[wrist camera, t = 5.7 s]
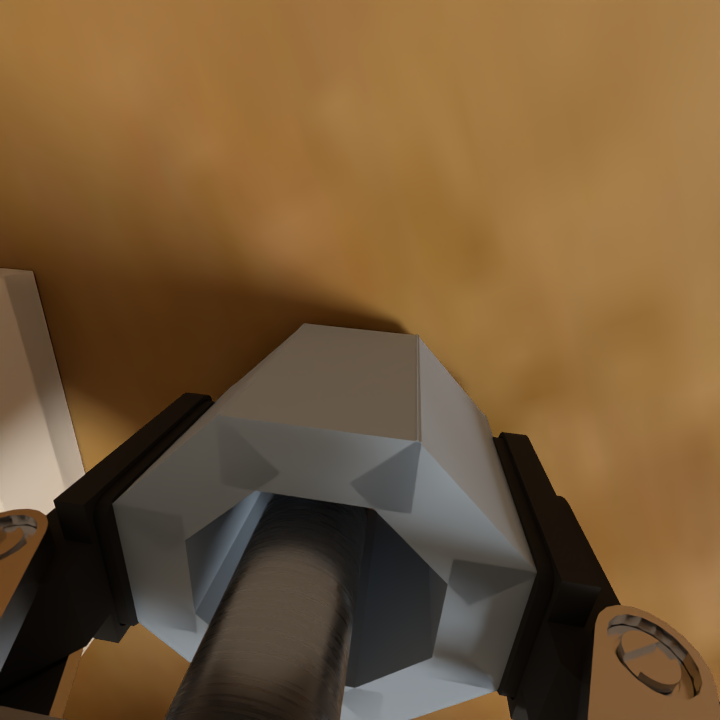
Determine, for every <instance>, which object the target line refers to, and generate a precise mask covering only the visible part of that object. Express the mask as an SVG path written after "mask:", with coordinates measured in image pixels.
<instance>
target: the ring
mask: <svg viewBox="0 0 720 720" xmlns="http://www.w3.org/2000/svg"><path fill="white" fill-rule="evenodd" d="M492 437H493V435H492V432H491V429H490V426H489V423H488V420H487V417H486V416H485V415H484V414H483V413H482V412H481V411H480V409H479V408H478V407H477V406H476V405H475V403H474V402H473V401H472V400H471V399H470V397H469V396H468V395H467V394H466V393H465V391H464V390H463V389H462V388H461V387H460V385H459V384H458V383H457V382H456V381H455V379H454V378H453V377H452V376H451V375H450V373H449V372H448V371H447V370H446V369H445V367H444V366H443V365H442V364H441V363H440V361H439V360H438V359H437V358H436V357H435V355H434V354H433V353H432V352H431V351H430V349H429V348H428V347H427V346H426V345H425V343H424V342H423V341H422V340H421V339H420V337H419V335H410V334H400V333H391V332H381V331H372V330H362V329H353V328H343V327H334V326H324V325H315V324H307V323H303V324H302V325H301V326H300V328H299V329H298V330H297V331H296V332H294V333H293V334H292V335H291V336H290V337H289V338H288V339H286V340H285V341H284V342H283V343H282V344H281V345H279V346H278V347H277V348H276V349H275V350H274V351H273V352H271V353H270V354H269V355H268V356H267V357H266V358H264V359H263V360H262V361H261V362H260V363H259V364H258V365H256V366H255V367H254V368H253V369H252V370H251V371H249V372H248V373H247V374H246V375H245V376H244V377H243V378H241V379H240V380H239V381H238V382H237V383H236V384H233V385H232V386H231V387H230V388H229V389H228V390H227V391H226V392H225V393H224V394H223V395H222V396H221V397H220V398H219V399H218V400H217V401H216V402H215V403H214V404H213V405H212V406H211V407H210V408H209V409H208V410H207V411H206V412H205V413H204V414H203V415H202V416H201V417H200V418H199V419H198V420H197V421H196V422H195V423H194V424H193V425H192V426H191V427H190V428H189V429H188V430H187V431H186V432H185V433H184V434H183V435H182V436H181V437H180V438H179V439H178V440H177V441H176V442H175V443H174V444H173V445H172V446H171V447H170V448H169V449H168V450H167V451H166V452H165V453H164V454H163V455H162V456H161V457H159V458H158V459H157V460H156V461H155V462H154V463H153V464H152V465H151V466H150V467H149V468H148V469H147V470H146V471H145V472H144V473H143V474H142V475H141V476H140V477H139V478H138V479H137V480H136V481H135V482H134V483H133V484H132V485H131V486H130V487H129V488H128V489H127V490H126V491H125V492H124V493H123V494H122V495H121V496H120V497H119V498H118V499H117V500H116V501H115V502H114V503H113V504H112V505H113V509H114V514H115V518H116V523H117V528H118V532H119V537H120V541H121V546H122V550H123V555H124V560H125V564H126V569H127V573H128V578H129V582H130V587H131V591H132V596H133V601H134V605H135V610H136V614H137V619H138V622H139V623H140V624H142V625H143V626H144V627H145V628H147V629H148V630H149V631H151V632H152V633H153V634H154V635H156V636H157V637H158V638H159V639H161V640H162V641H163V642H164V643H166V644H167V645H168V646H170V647H171V648H172V649H173V650H175V651H176V652H177V653H178V654H180V655H181V656H182V657H184V658H185V659H186V660H187V661H189V662H190V663H191V661H192V659H193V657H194V655H195V653H196V651H197V649H198V647H199V645H200V643H201V640H202V638H203V636H204V634H205V632H206V630H207V628H208V626H209V624H210V622H211V619H212V617H213V615H214V613H215V611H216V609H217V607H218V605H219V603H220V601H221V598H222V596H223V594H224V592H225V590H226V588H227V586H228V584H229V582H230V580H231V577H232V575H233V573H234V571H235V569H236V567H237V565H238V563H239V561H240V559H241V556H242V554H243V552H244V550H245V548H246V546H247V544H248V542H249V540H250V538H251V535H252V533H253V531H254V529H255V527H256V525H257V523H258V521H259V519H260V517H261V514H262V512H263V510H264V508H265V506H266V504H267V502H268V500H269V498H270V496H271V493H274V494H281V495H287V496H294V497H301V498H307V499H314V500H321V501H327V502H334V503H340V504H347V505H354V506H360V507H367V508H374V510H372V509H369V512H368V519H367V527H366V534H365V541H364V549H363V556H362V563H361V571H360V578H359V585H358V593H357V600H356V607H355V615H354V622H353V629H352V637H351V644H350V651H349V659H348V666H347V673H346V681H345V688H344V695H343V703H342V710H341V717H340V720H410V719H413V718H416V717H419V716H422V715H425V714H428V713H431V712H434V711H437V710H440V709H443V708H446V707H449V706H452V705H455V704H458V703H461V702H464V701H467V700H470V699H473V698H476V697H479V696H482V695H485V694H488V693H491V692H494V691H498V688H499V685H500V682H501V679H502V676H503V673H504V670H505V667H506V664H507V661H508V658H509V655H510V652H511V649H512V646H513V643H514V640H515V637H516V634H517V631H518V628H519V625H520V622H521V619H522V616H523V613H524V610H525V607H526V604H527V601H528V598H529V595H530V592H531V589H532V586H533V583H534V580H535V577H536V574H537V570H536V567H535V564H534V561H533V558H532V555H531V552H530V549H529V546H528V543H527V540H526V537H525V534H524V531H523V528H522V525H521V522H520V519H519V516H518V513H517V510H516V507H515V504H514V501H513V498H512V495H511V492H510V489H509V486H508V483H507V480H506V477H505V474H504V471H503V468H502V465H501V462H500V459H499V456H498V453H497V450H496V447H495V444H494V441H493V438H492Z"/></svg>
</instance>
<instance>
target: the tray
mask: <svg viewBox="0 0 720 720" xmlns="http://www.w3.org/2000/svg"><path fill="white" fill-rule="evenodd" d="M84 475H85V472H84V468H83V464H82V460H81V456H80V452H79V448H78V445H77V441H76V437H75V433H74V429H73V425H72V421H71V417H70V414H69V410H68V406H67V402H66V398H65V394H64V390H63V386H62V383H61V379H60V375H59V371H58V367H57V363H56V359H55V355H54V351H53V348H52V344H51V340H50V336H49V332H48V328H47V324H46V320H45V317H44V313H43V309H42V305H41V301H40V297H39V293H38V289H37V286H36V282H35V278H34V274H33V271H28V270H17V269H7V268H0V513H1V512H5V511H10V510H14V509H33V510H38V511H40V512H42V513H43V514H45V515H47V514H48V513H49V512H51V511H52V510H53V509H54V508H55V505H54V502H53V500H54V499H55V498H56V497H58V496H59V495H60V494H61V493H63V492H64V491H65V490H66V489H68V488H69V487H70V486H71V485H72V484H74V483H75V482H76V481H77V480H79V479H80V478H81V477H82V476H84ZM93 639H94V638H92V639H91V641H90V642H89V643H88V645H87V646H86V647H84V648H83V652H82V655H83V653H84V652H85V651H86V649H87V648H88V646H89V645H90V644H91V642H92V641H93ZM82 655H81V656H82Z"/></svg>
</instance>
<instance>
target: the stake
mask: <svg viewBox="0 0 720 720" xmlns="http://www.w3.org/2000/svg"><path fill="white" fill-rule="evenodd" d="M368 512H369V508H367V507H360V506H354V505H347V504H340V503H334V502H327V501H321V500H314V499H307V498H301V497H294V496H287V495H281V494H274V493H271V496H270V498H269V500H268V502H267V504H266V506H265V508H264V510H263V512H262V514H261V517H260V519H259V521H258V523H257V525H256V527H255V529H254V531H253V533H252V535H251V538H250V540H249V542H248V544H247V546H246V548H245V550H244V552H243V554H242V556H241V559H240V561H239V563H238V565H237V567H236V569H235V571H234V573H233V575H232V577H231V580H230V582H229V584H228V586H227V588H226V590H225V592H224V594H223V596H222V598H221V601H220V603H219V605H218V607H217V609H216V611H215V613H214V615H213V617H212V619H211V622H210V624H209V626H208V628H207V630H206V632H205V634H204V636H203V638H202V640H201V643H200V645H199V647H198V649H197V651H196V653H195V655H194V657H193V659H192V661H191V664H190V666H189V668H188V670H187V672H186V674H185V676H184V678H183V680H182V682H181V685H180V687H179V689H178V691H177V693H176V695H175V697H174V699H173V701H172V703H171V706H170V708H169V710H168V712H167V714H166V716H165V718H164V720H340V717H341V710H342V703H343V695H344V688H345V681H346V673H347V666H348V659H349V651H350V644H351V637H352V629H353V622H354V615H355V607H356V600H357V593H358V585H359V578H360V571H361V563H362V556H363V549H364V541H365V534H366V527H367V519H368Z"/></svg>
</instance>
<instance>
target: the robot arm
mask: <svg viewBox="0 0 720 720" xmlns="http://www.w3.org/2000/svg"><path fill="white" fill-rule="evenodd" d="M214 403H215V402H213V401H212V399H211V397H210V396H209V395H202V394H194V393H185V394H183V395H182V396H181V397H179V398H178V399H177V400H176V401H175V402H173V403H172V404H171V405H170V406H168V407H167V408H166V409H165V410H163V411H162V412H161V413H160V414H159V415H157V416H156V417H155V418H154V419H152V420H151V421H150V422H149V423H147V424H146V425H145V426H144V427H143V428H141V429H140V430H139V431H138V432H136V433H135V434H134V435H133V436H131V437H130V438H129V439H128V440H127V441H125V442H124V443H123V444H122V445H120V446H119V447H118V448H117V449H115V450H114V451H113V452H112V453H111V454H109V455H108V456H107V457H106V458H104V459H103V460H102V461H101V462H100V463H98V464H97V465H96V466H95V467H93V468H92V469H91V470H90V471H88V472H87V473H86V474H85V475H84V476H82V477H81V478H80V479H79V480H77V481H76V482H75V483H74V484H72V485H71V486H70V487H69V488H68V489H66V490H65V491H64V492H63V493H61V494H60V495H59V496H58V497H56V498H55V499H54V500H53V502H54V505H55V508H54V509H53V510H52V511H51V512H49V513H48V514H47V515H45V514H43V513H42V512H40V511H38V510H33V509H14V510H10V511H5V512H1V513H0V720H66V719H62V718H63V714H64V711H65V708H66V704H67V701H68V698H69V695H70V691H71V688H72V685H73V681H74V678H75V675H76V672H77V668H78V665H79V662H80V658H81V655H82V652H83V648H84V647H86V646H87V645H88V643H89V642H90V641H91V639H92V638H95V639H100V640H106V641H111V642H116V643H119V642H120V640H121V639H122V637H123V636H124V634H125V633H126V632H127V630H128V629H129V627H130V626H131V625H132V626H134V625H137V624H138V623H139V622H138V619H137V614H136V610H135V605H134V601H133V596H132V591H131V587H130V582H129V578H128V573H127V569H126V564H125V560H124V555H123V550H122V546H121V541H120V537H119V532H118V528H117V523H116V518H115V514H114V509H113V505H112V504H113V503H114V502H115V501H116V500H117V499H118V498H119V497H120V496H121V495H122V494H123V493H124V492H125V491H126V490H127V489H128V488H129V487H130V486H131V485H132V484H133V483H134V482H135V481H136V480H137V479H138V478H139V477H140V476H141V475H142V474H143V473H144V472H145V471H146V470H147V469H148V468H149V467H150V466H151V465H152V464H153V463H154V462H155V461H156V460H157V459H158V458H159V457H161V456H162V455H163V454H164V453H165V452H166V451H167V450H168V449H169V448H170V447H171V446H172V445H173V444H174V443H175V442H176V441H177V440H178V439H179V438H180V437H181V436H182V435H183V434H184V433H185V432H186V431H187V430H188V429H189V428H190V427H191V426H192V425H193V424H194V423H195V422H196V421H197V420H198V419H199V418H200V417H201V416H202V415H203V414H204V413H205V412H206V411H207V410H208V409H209V408H210V407H211V406H212V405H213V404H214ZM492 438H493V441H494V444H495V447H496V450H497V453H498V456H499V459H500V462H501V465H502V468H503V471H504V474H505V477H506V480H507V483H508V486H509V489H510V492H511V495H512V498H513V501H514V504H515V507H516V510H517V513H518V516H519V519H520V522H521V525H522V528H523V531H524V534H525V537H526V540H527V543H528V546H529V549H530V552H531V555H532V558H533V561H534V564H535V567H536V570H537V574H536V577H535V580H534V583H533V586H532V589H531V592H530V595H529V598H528V601H527V604H526V607H525V610H524V613H523V616H522V619H521V622H520V625H519V628H518V631H517V634H516V637H515V640H514V643H513V646H512V649H511V652H510V655H509V658H508V661H507V664H506V667H505V670H504V673H503V676H502V679H501V682H500V685H499V688H498V691H497V692H498V694H499V695H503V696H507V700H508V705H509V711H510V716H511V719H513V720H720V702H719V699H718V693H717V688H716V685H715V682H714V679H713V676H712V674H711V671H710V669H709V667H708V666H707V664H706V663H705V661H704V660H703V658H702V657H701V655H700V654H699V652H698V651H697V650H696V649H695V648H694V647H693V646H692V645H691V644H690V643H689V642H688V641H687V639H686V638H685V637H684V636H682V635H681V634H680V633H679V632H677V631H676V630H675V629H674V628H672V627H671V626H670V625H669V624H667V623H666V622H664V621H662V620H661V619H659V618H657V617H655V616H654V615H652V614H650V613H648V612H645V611H643V610H640V609H637V608H635V607H630V606H623V605H621V604H620V603H619V601H618V599H617V597H616V595H615V593H614V591H613V589H612V587H611V585H610V583H609V581H608V579H607V577H606V575H605V573H604V571H603V570H602V568H601V566H600V564H599V562H598V560H597V558H596V556H595V554H594V552H593V550H592V548H591V546H590V544H589V542H588V540H587V539H586V537H585V535H584V533H583V531H582V529H581V527H580V525H579V523H578V521H577V519H576V517H575V515H574V513H573V511H572V509H571V507H570V506H569V504H568V502H567V501H566V499H565V498H563V497H561V496H557V495H556V493H555V491H554V489H553V487H552V485H551V483H550V481H549V479H548V477H547V475H546V473H545V471H544V469H543V467H542V465H541V463H540V461H539V459H538V457H537V455H536V452H535V450H534V448H533V446H532V444H531V442H530V440H529V438H528V437H527V436H526V435H520V434H512V433H505V432H502V433H500V435H499V437H498V438H496V437H492Z"/></svg>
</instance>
